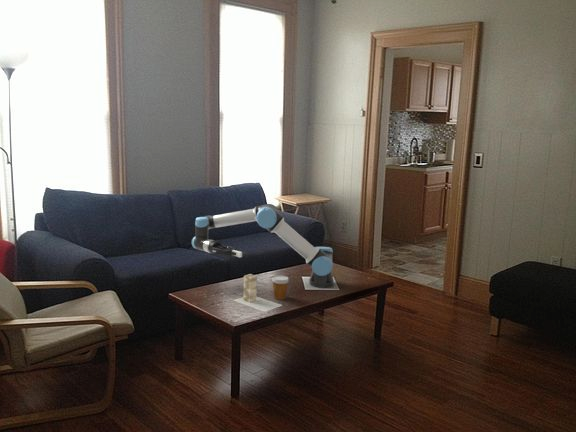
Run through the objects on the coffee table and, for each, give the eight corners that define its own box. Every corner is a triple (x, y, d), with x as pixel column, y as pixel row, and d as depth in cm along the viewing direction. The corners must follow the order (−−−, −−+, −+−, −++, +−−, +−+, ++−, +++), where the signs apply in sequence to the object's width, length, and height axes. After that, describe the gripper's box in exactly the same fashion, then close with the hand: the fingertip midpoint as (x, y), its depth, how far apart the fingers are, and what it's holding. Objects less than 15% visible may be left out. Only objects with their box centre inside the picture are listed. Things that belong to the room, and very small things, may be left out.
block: (243, 300, 290) (243, 275, 288) (249, 298, 294) (250, 273, 291) (249, 302, 287) (250, 277, 284) (256, 300, 291) (256, 275, 288)
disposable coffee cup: (289, 301, 293) (290, 280, 290) (272, 301, 291) (273, 280, 289) (287, 295, 302) (287, 275, 300) (270, 295, 300) (271, 275, 298)
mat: (232, 301, 290) (232, 300, 290) (251, 295, 300) (251, 294, 300) (264, 312, 274) (264, 311, 274) (282, 305, 285) (282, 305, 284)
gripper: (221, 251, 311) (249, 259, 296) (203, 255, 302) (232, 263, 286) (221, 238, 310) (249, 246, 295) (203, 242, 300) (232, 250, 285)
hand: (241, 254), depth 291 cm, fingers closed
